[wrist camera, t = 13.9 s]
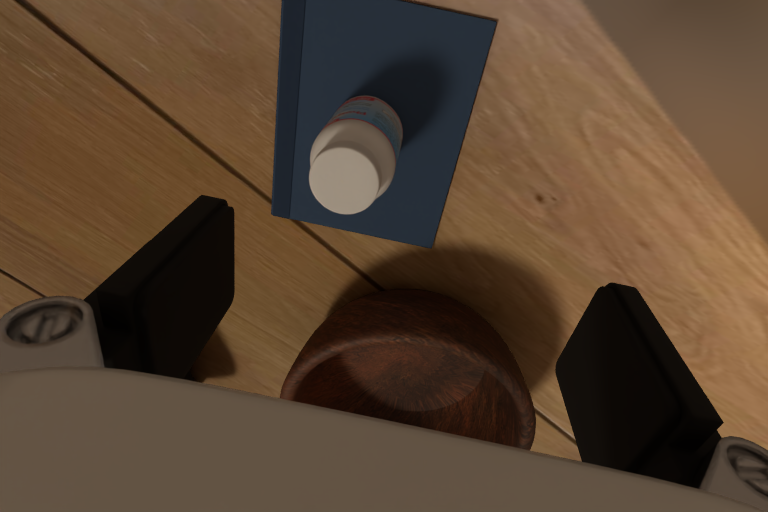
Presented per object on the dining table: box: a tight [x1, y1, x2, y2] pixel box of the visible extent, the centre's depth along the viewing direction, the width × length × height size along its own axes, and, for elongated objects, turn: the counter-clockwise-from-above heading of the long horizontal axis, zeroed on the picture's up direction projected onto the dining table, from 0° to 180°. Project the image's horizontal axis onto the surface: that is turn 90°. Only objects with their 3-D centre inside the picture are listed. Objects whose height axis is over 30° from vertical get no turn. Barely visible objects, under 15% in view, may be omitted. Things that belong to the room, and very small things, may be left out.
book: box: [271, 0, 497, 248], centre depth 38 cm, size 20×16×1 cm
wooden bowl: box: [280, 289, 536, 451], centre depth 47 cm, size 25×25×10 cm
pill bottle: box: [309, 96, 403, 214], centre depth 33 cm, size 6×6×11 cm
